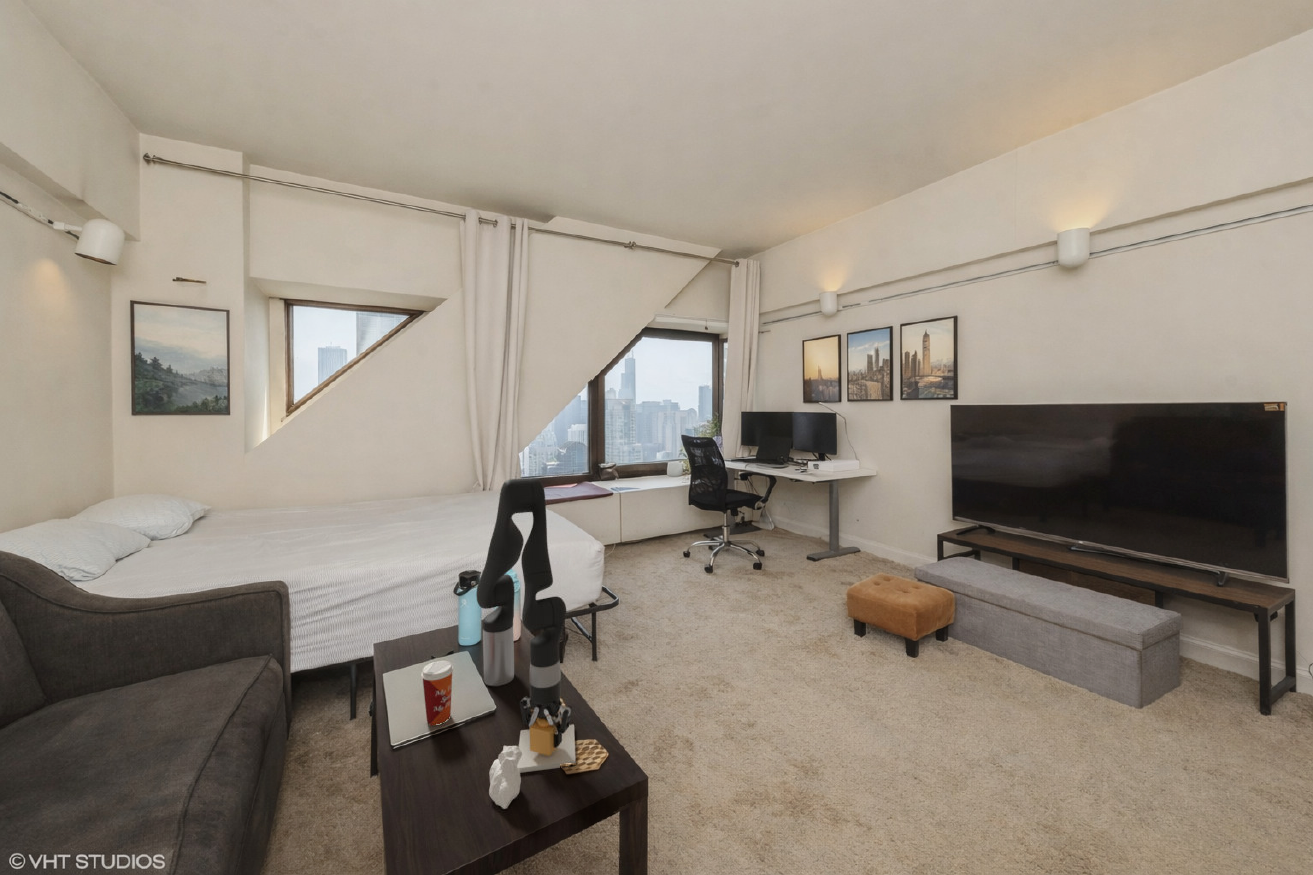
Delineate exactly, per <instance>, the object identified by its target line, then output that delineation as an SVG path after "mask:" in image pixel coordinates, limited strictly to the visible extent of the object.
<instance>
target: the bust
mask: <svg viewBox="0 0 1313 875" xmlns="http://www.w3.org/2000/svg"><path fill="white" fill-rule="evenodd" d="M502 748H503V749H502V751H501V752H500V753H499V754H498V756H497V757H498V758H497V759H495V760H494V761H493V763H492V765H491V767H490V769H489V772H488V773H489V784H490V786H489V790H488V795H489V797H490V798H491V800H492V801H493V802H494V803H495V805H496V806H500V807H501V809H503V810H505V809H508V807H509V805H510V804H511V802H512V801H513V800H514V799H516V798H517V797H518V795H519V793H520V789H521V782H522V778H521V773H520V770H519V768H518V767H517V764H518V762H519V760H520V758H521V756H522V752H521V751H520V749H519V745H503V747H502Z"/></svg>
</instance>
